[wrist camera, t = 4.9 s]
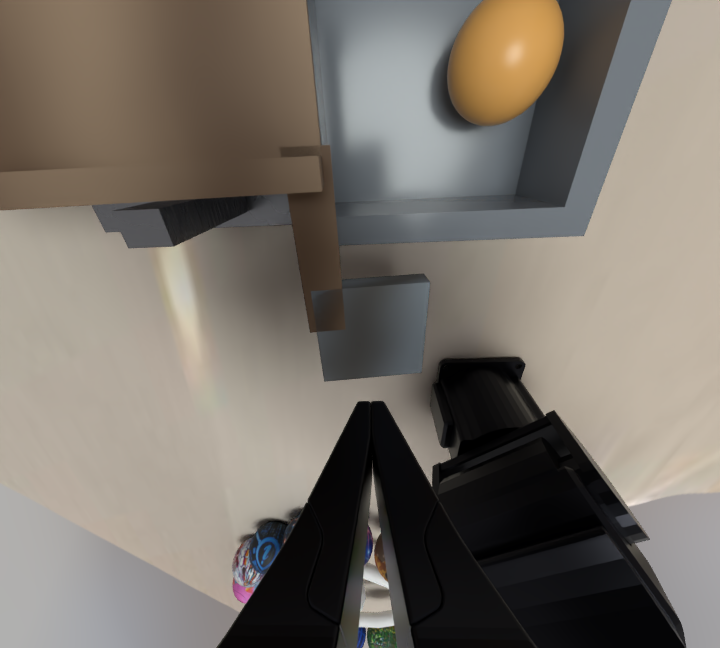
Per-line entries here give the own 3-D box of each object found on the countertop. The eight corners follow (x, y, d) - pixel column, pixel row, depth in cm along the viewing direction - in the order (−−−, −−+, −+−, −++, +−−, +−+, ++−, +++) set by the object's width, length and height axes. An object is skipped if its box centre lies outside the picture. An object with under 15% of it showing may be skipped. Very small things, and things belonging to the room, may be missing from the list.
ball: (572, -69, 7) (434, -11, 10) (530, 118, 9) (425, 129, 12) (589, -14, 10) (477, 21, 12) (553, 123, 12) (463, 131, 14)
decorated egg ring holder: (237, 458, 38) (195, 529, 30) (496, 497, 35) (524, 588, 27) (265, 573, 54) (243, 640, 46) (443, 607, 51) (451, 684, 43)
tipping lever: (458, -164, 7) (561, -429, 4) (416, 360, 15) (437, 410, 12) (-648, -170, 5) (-1816, -562, 2) (-24, 400, 14) (-122, 466, 11)
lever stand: (266, -118, 10) (64, -665, 3) (310, 220, 16) (270, 265, 10) (-36, -89, 11) (-736, -513, 4) (118, 228, 17) (-49, 277, 10)
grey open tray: (622, -162, 10) (827, -417, 5) (526, 214, 16) (583, 235, 12) (272, -128, 10) (204, -334, 6) (316, 223, 17) (298, 246, 12)
